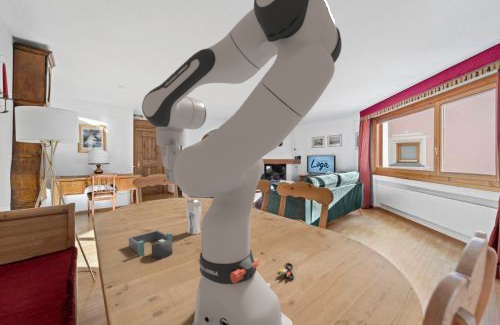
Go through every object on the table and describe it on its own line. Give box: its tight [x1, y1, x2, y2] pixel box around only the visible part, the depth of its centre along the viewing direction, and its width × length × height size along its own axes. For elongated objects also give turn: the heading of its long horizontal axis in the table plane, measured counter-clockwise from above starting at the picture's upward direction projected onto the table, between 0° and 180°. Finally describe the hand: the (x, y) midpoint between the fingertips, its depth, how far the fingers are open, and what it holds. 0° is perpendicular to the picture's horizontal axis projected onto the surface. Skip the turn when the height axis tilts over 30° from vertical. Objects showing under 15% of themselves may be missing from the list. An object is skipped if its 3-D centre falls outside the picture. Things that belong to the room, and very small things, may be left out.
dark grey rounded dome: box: [151, 239, 173, 260], centre depth 78 cm, size 7×7×5 cm
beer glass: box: [185, 199, 202, 235], centre depth 100 cm, size 7×7×15 cm
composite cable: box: [276, 262, 295, 281], centre depth 66 cm, size 10×5×2 cm, turn 152°
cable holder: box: [128, 230, 173, 257], centre depth 85 cm, size 12×12×5 cm
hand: (170, 181), depth 71 cm, fingers open, 8 cm apart
